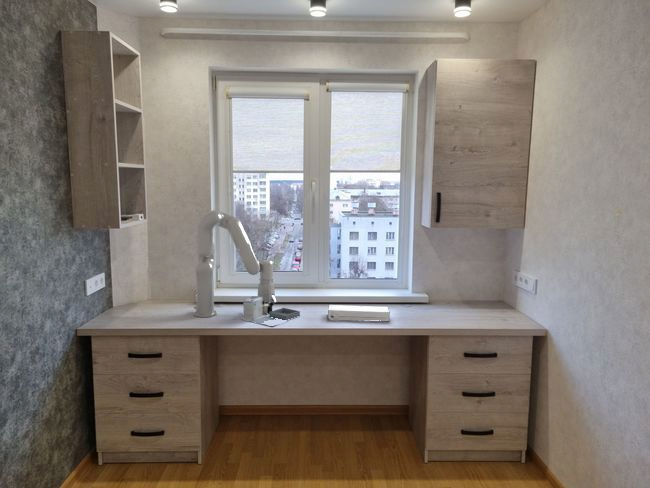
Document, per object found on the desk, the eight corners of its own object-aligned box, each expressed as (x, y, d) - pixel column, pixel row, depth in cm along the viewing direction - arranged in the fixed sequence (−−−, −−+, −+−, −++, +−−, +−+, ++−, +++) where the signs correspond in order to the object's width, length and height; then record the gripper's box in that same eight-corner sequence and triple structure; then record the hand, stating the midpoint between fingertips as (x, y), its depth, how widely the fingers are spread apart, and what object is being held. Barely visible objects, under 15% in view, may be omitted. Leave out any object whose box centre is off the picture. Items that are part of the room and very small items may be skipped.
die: (260, 312, 257) (260, 304, 256) (266, 311, 261) (266, 303, 260) (266, 314, 254) (266, 306, 254) (272, 312, 258) (272, 304, 257)
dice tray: (269, 317, 248) (269, 311, 248) (283, 312, 258) (283, 307, 258) (285, 321, 241) (285, 315, 241) (299, 316, 251) (299, 311, 251)
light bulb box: (252, 314, 252) (252, 295, 251) (262, 315, 250) (262, 296, 248) (242, 319, 242) (242, 299, 241) (253, 320, 240) (253, 301, 238)
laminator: (387, 317, 254) (387, 306, 253) (389, 323, 242) (389, 312, 241) (328, 315, 256) (329, 304, 255) (327, 321, 244) (328, 310, 243)
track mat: (240, 319, 243) (240, 318, 243) (255, 314, 253) (255, 313, 253) (272, 327, 230) (272, 326, 229) (287, 322, 239) (287, 321, 239)
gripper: (251, 280, 257) (251, 310, 259) (273, 284, 248) (272, 315, 250) (260, 278, 263) (260, 308, 265) (281, 282, 254) (281, 313, 256)
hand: (266, 311), depth 258 cm, fingers closed on die, 4 cm apart
